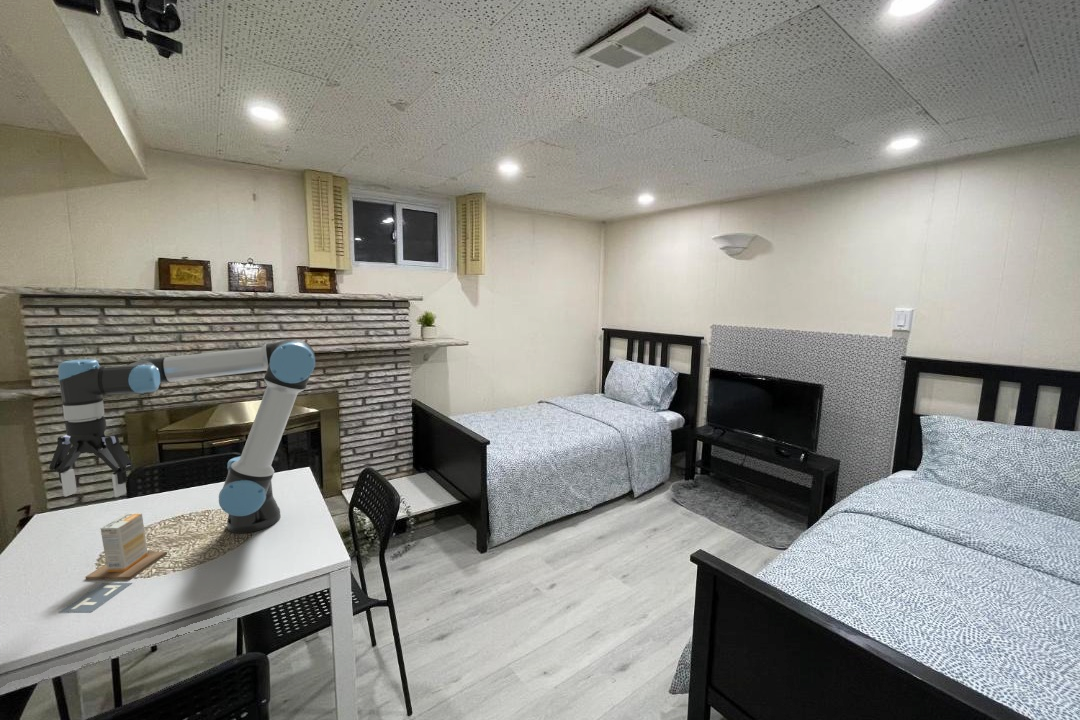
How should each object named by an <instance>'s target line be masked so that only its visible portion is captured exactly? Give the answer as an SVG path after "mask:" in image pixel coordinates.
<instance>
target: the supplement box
mask: <svg viewBox="0 0 1080 720" xmlns="http://www.w3.org/2000/svg"><path fill="white" fill-rule="evenodd" d="M143 518H144V517H143V513H139V512H138V513H124V514H123V515H121V516H119V517H118V518H116V519H114V520H113V521H111V522H108V523H107V524H106V525H103V526H102V527H100V535H101V541H102V546H103V547H102V548H103V552H104V558H105V564H106V565H107V571H108V572H122V571H126V570H127V569H129V568H130V567H131V566H133V565H134V564H135V563H137V562H138V561H140V560H141V559H142V558H144V557H145V556H147V555H148V545H147V540H146V539H147V538H146V533H145V525H144V524H145V523H144V519H143Z"/></svg>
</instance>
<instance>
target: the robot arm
mask: <svg viewBox="0 0 1080 720" xmlns="http://www.w3.org/2000/svg"><path fill="white" fill-rule="evenodd" d="M57 367H58V369H57V371H58V379H57V380H58V383H59V389H60V394H61V400H62V402H61V403H62V411H63V419H64V420H66V421H65V422H64V425H65V431H66V434H65V435H61V436H59V437H57V446H56V448H55V451H54V454H53V457H52V459H51V461H50V464H49V467H48V469H49V470H50V471H56V472H57V473H58V476H59V477H58V478H59V482H60V484H61V487H62V492H63V497H68V496H71V495H74V494H76V493H77V492H78V491H77V483H76V475H75V469H73V465H74V464H75V462H76V461H77V459H79V457H80V456H81V455H82V454H93V455H95V456H98V458H100V459H101V460H102V461H103V462H104V463H105V464H106V465H107V466H108V467H109V468H110V469H111V470H112V471H113V473H111V480H112V488H113V494H114V498H119V497H120V496H123V495H125V494H127V487H126V483H127V482H128V477H127V471H128V470H130V469H133V468H134V463H133V462H132V461H131V459H130V457H129V456H128V454H127V453H126V451H125V449H124V448H123V446H122V445H121V443H120V440H119V436H118V435H117V434H114V435H110V436H106V435H105V431H106V430H107V421H106V417H105V416H104V415H105V405H104V396H108V395H110V396H111V395H125V394H126V395H127V394H144V393H151V392H152V393H153V392H156V391H158V389H159V387H160V384H165V383H173V382H179V381H190V380H195V379H197V380H198V379H204V378H213V377H222V376H229V375H230V376H231V375H237V374H238V375H239V374H247V373H254V372H262V371H266V372H265V374H264V377H263V380H264V382H265V384H266V387H265V390H264V393H263V396H262V399H261V402H260V404H259V407H258V409H257V411H256V414H255V418H254V421H253V424H252V425H251V428H250V431H249V433H248V436H247V439H246V442H245V445H244V446H243V449H242V452H241V455H240V456H235V457H232V458H231V459H229V460H228V462H227V466H226V469H227V475H226V479H225V481H224V484H223V486H222V489H220V491H219V494H218V504H219V507H220V509H221V510H222V511H223V512H225V513H226V514H228V517H227V521H226V525H227V530H228V531H229V532H231V533H233V534H234V533H235V534H246V533H253V532H259V531H261V530H263V529H266V528H268V527H270V526H272V525H275V524H276V523H277V522H279V520H280V518H281V510H280V507H279V506H278V503H277V501H276V499H275V498H274V495H273V484H272V480H273V476H274V475H275V470H274V468H273V466H272V464H273V461H274V459H275V455H276V453H277V450H278V448H279V445H280V442H281V440H282V437H283V434H284V432H285V429H286V426H287V424H288V421H289V418H290V415H291V412H292V410H293V407H294V404H295V401H296V399H297V396H298V394H299V393H301V392H303V391H305V390H306V388H307V385H308V383H309V380H310V377H311V375H312V373H313V372H314V370H315V367H316V356H315V351H314V349H313V347H312V346H311V345H310V344H309V343H308V342H306V341H305V340H302V339H298V338H294V339H293V338H291V339H286V340H282V341H276V342H270V343H264V345H263V346H261V347H253V348H252V347H251V348H242V349H234V350H233V349H232V350H224V351H213V352H203V353H196V354H195V353H193V354H185V355H177V356H167V357H159V358H157V357H155V358H154V357H153V358H152V357H145V358H140V359H139V360H136V361H134V362H132V363H130V364H127V365H119V366H118V365H117V366H116V365H115V366H100V364H99V361H98V360H97V359H94V358H93V359H91V358H90V359H89V358H88V359H87V358H84V359H73V360H72V359H71V360H66V361H64V360H63V361H62V362H60V363H59V364H58V366H57Z"/></svg>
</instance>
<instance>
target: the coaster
mask: <svg viewBox="0 0 1080 720" xmlns="http://www.w3.org/2000/svg"><path fill="white" fill-rule="evenodd" d="M147 551H148V550H147ZM167 552H168V551H155V550H154V551H153V550H152V551H148V555H147V556H145V557H144V558H142V559H141V560H140V561H138V562H137V563H135V564H134V565H133V566H131V567H130V568H129V569H127V570H126V571H122V572H108V571H107V565H106V563H105V564H103V565H102V566H100V567H99V568H97V569H96V570H94V571H92V572H90V573H89V574H87V575H86V576H85V577H84V578H85V580H95V581H97V580H106V581H107V580H108V581H109V580H112V581H113V580H118V581H119V580H120V581H121V580H122V581H123V580H124V581H125V580H126V581H127V580H132V579H133V578H135V577H136V576H138V575H139V574H140V573H142V572H143V571H145V570H146V569H148V568H149V567H151V566H152V565H154V564H155V563H156V562H158V561H159V560H161V559H162V558H164V556H167V554H168V553H167Z"/></svg>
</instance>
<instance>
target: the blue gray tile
mask: <svg viewBox="0 0 1080 720" xmlns="http://www.w3.org/2000/svg"><path fill="white" fill-rule="evenodd" d="M132 584H133V583H132V582H101V583H99V584H98V585H97V586H95V587H94V588H93V589H91V590H89V591H88V592H86V593H84V595H82V596H80V597H79V598H77V599H76V600H75V601H73V602H71V603H69V604H68V605H66V606H65V607H64V608H62V609H61V610H59V611H58V613H93V612H94V611H95V610H97V609H98V608H100V607H101V606H103V605H104V604H105V603H107V602H108V601H110V600H111V599H113V598H114V597H115V596H117V595H118V594H119V593H121V592H122V591H124V590H125V589H126V588H128V587H130V586H131V585H132Z"/></svg>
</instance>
